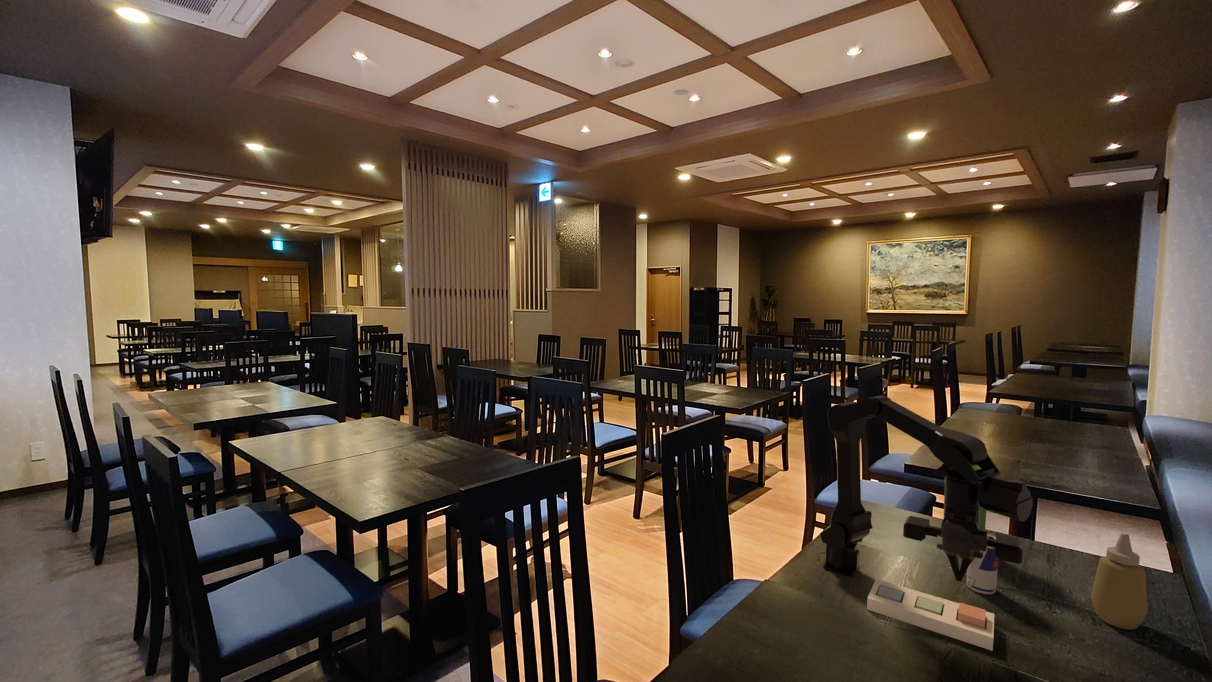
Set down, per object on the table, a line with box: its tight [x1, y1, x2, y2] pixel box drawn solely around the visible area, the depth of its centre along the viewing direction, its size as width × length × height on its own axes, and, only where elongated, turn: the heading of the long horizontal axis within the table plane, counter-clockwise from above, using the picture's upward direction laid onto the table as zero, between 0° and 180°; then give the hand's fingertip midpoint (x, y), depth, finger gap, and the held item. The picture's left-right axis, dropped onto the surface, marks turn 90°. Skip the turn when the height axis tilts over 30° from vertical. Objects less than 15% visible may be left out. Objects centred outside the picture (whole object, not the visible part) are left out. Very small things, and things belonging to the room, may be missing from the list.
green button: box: [916, 596, 943, 616], centre depth 106 cm, size 4×4×2 cm
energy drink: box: [965, 532, 999, 596], centre depth 116 cm, size 5×5×12 cm
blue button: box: [877, 584, 903, 603], centre depth 110 cm, size 4×4×2 cm
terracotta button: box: [958, 602, 987, 629], centre depth 102 cm, size 4×4×2 cm
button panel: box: [866, 578, 995, 652], centre depth 106 cm, size 21×9×2 cm, turn 53°
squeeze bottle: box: [1090, 532, 1148, 631], centre depth 104 cm, size 8×8×18 cm
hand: (958, 580), depth 102 cm, fingers closed
